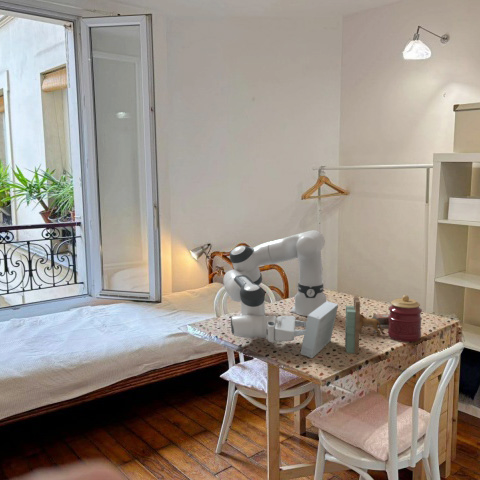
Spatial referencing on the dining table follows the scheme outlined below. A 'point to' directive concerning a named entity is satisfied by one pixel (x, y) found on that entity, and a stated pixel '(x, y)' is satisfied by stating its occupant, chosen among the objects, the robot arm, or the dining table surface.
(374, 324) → the lion figurine
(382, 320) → the packaged product
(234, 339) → the dining table surface
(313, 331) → the skincare box
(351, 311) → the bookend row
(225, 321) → the dining table surface
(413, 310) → the canister
